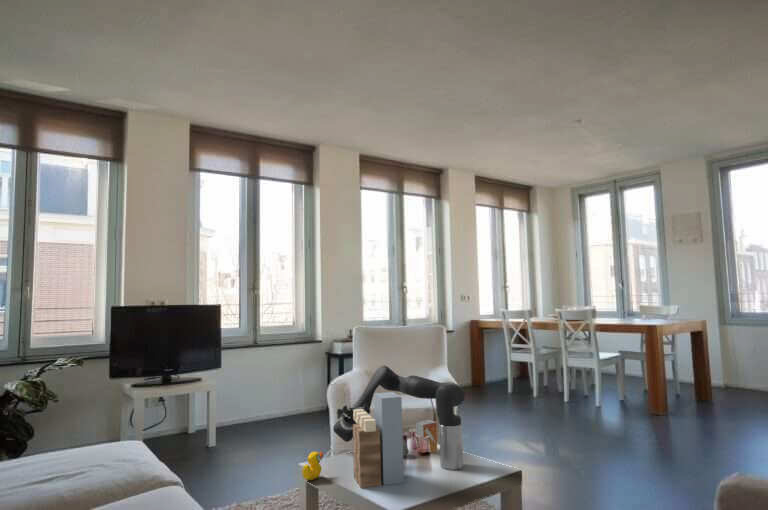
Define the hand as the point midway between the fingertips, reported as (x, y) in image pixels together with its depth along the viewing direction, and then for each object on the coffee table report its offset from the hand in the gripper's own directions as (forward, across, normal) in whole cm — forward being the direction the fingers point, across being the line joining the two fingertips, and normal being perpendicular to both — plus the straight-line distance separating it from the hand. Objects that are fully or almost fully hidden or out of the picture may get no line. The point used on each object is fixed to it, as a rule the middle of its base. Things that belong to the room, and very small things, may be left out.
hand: (356, 406), depth 212 cm
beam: (+10, 0, +11) cm, 15 cm away
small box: (-23, +36, +16) cm, 45 cm away
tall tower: (+3, +9, +30) cm, 32 cm away
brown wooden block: (+3, 0, +30) cm, 30 cm away
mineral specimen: (-21, +21, +17) cm, 34 cm away
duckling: (-6, -20, +25) cm, 33 cm away
